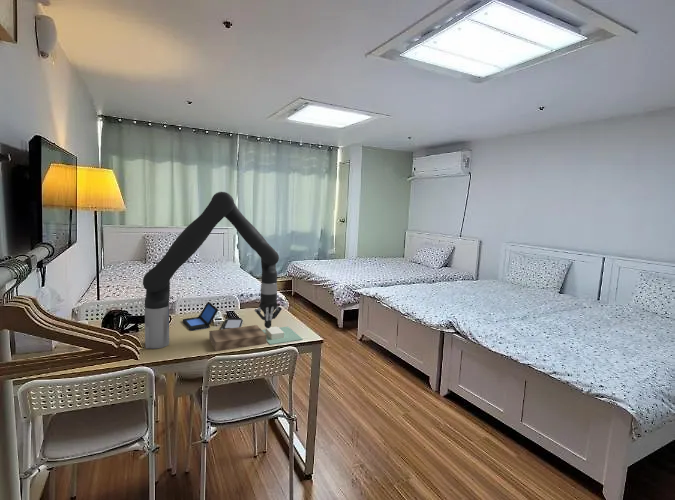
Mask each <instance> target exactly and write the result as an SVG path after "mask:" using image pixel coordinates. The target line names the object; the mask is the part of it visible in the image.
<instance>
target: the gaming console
mask: <svg viewBox="0 0 675 500" xmlns="http://www.w3.org/2000/svg"><path fill="white" fill-rule="evenodd" d="M234 318H235V319H234ZM243 323H244V320H243V319H242V318H241V317H228V318H226V319H225V320H224V322H223V324H222V326H221V329H229V328H237V327H243ZM221 329H220V330H221Z"/></svg>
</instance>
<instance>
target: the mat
mask: <svg viewBox="0 0 675 500" xmlns="http://www.w3.org/2000/svg"><path fill="white" fill-rule="evenodd" d="M279 328H280V329H281V330H282V331H283V332H284V338H280V339H273V340H271V338H270V337H269V336H268V335H267V334H266V333H265V329H261V330H262V331H263V332H264V333H265V334H266V335H267V338H266V343H268V345H269V346H270V345H278V344H284V343H289V342H297V341H303V340H304V339H303V338H302V337H301V336H300V335H299V334H298V333H296V332H295V331H294V330H293V329H292V328H291V327H289V326H282V327H281V326H280V327H279Z"/></svg>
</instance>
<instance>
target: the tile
mask: <svg viewBox="0 0 675 500" xmlns="http://www.w3.org/2000/svg"><path fill="white" fill-rule="evenodd" d="M264 330H265V333H266V334H267V335H268V336H269V337H270V338H271V340H273V339H280V338H284V332H283V331H282V330H281V329H280V327H279V326H271V327H270V328H266V327H265V328H264Z"/></svg>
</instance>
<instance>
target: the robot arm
mask: <svg viewBox="0 0 675 500" xmlns="http://www.w3.org/2000/svg"><path fill="white" fill-rule="evenodd" d="M242 213H243V212H241V211H240V209H239V208H238V206H237V205H236V203H235V200H234V198H233V196H232V195H230V193H228V192H226V191H218V192H215V194H213V196H212V197H211V200H210V202H209V203H208V205H207V206H206V207H205V209H204V210H203V211H202V213H201V214H200V215H199V216H198V217H197V218H196V219H194V220H193V221H192V222H191V223H190V224H189V225H188V226H186V227H185V228H184V229H183V231H182V232H181V233H180V234H179V235H178V236H177V237H176V239H175V240H174V241H173V243H171V246H170V247H169V248H168V250H167V251H166V253H165V254H164V256H163V257H162V258H161V260H160V261H159V262H158V263H156V265H155V266H154V267H152V268H151V269H149V270H148V271H147V272H146V273H145V275H144V276H143V277H142V286H143V288H144V289H145V299H144V345H145V349H146V350H147V349H152V350H153V349H163V348H166V347H168V346H169V345H170V297H171V289H170V288H171V279H172V277H173V276H174V275H175V274H176V272H177V270H179V268H181V267H182V265H184V264H185V263H186V262H188V260H189V259H190V258H191V257H192V256H193V255H194V254H195V253H196V252H197V251H198V250H199V248H201V246H202V245H203V243H204V242H205V241H206V240H207V238H208V237H209V236H210V234H211V233H212V231H213V230H214V228H215V227H216V226H217V225H218V224H219V223H220V222H221V221H222V220H223V219H224V218H226V219H227V221H228V222H229V223H230V224H232V226H233V227H234V228H235V230H236V231H237V232H238V233H239V235H240V236H241V238H242V239H243V240H244V241H245V242H246V243H247V245H249V247H250V248H251V249H252V250H253V251H254V252H256V253H257V255H258V256H259V257H260V261H261V262H260V264H261V283H260V290H259V291H260V297H259V298H260V300H259V301H260V303H259V305H258V307H257V308H255V309H254V312H255V313H256V314H257V315H258V316H259V318H260V319H261V320H263V321H264V327H265V329H266V328H270V327H272V320H275V319H276V318H277V317H278V315H279V314H280V313H281V311H282V307H281V306H279V305H278V272H277V268H276V266H277V264H278V262H279V260H280V257H279V253H278V252H277V250H275V249H274V248H273V247H272V246H271V245H270V243H268V242H267V240H266V239H265V237H264V236H263V235H262V234H261V233H260V232H259V230H258V229H257V228H256V227H255V226H254V225H253V224H252V222H250V221H249V220H248V219H247V218H246V216H244V215H243V214H242ZM261 312H263V314H262V313H261Z"/></svg>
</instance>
